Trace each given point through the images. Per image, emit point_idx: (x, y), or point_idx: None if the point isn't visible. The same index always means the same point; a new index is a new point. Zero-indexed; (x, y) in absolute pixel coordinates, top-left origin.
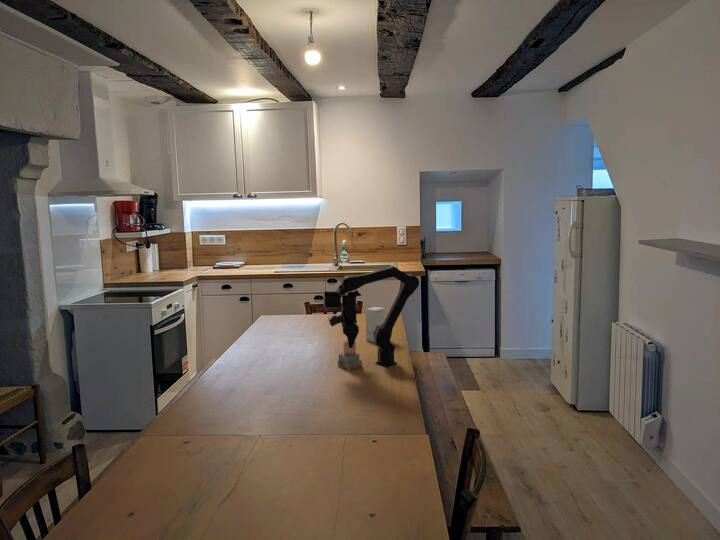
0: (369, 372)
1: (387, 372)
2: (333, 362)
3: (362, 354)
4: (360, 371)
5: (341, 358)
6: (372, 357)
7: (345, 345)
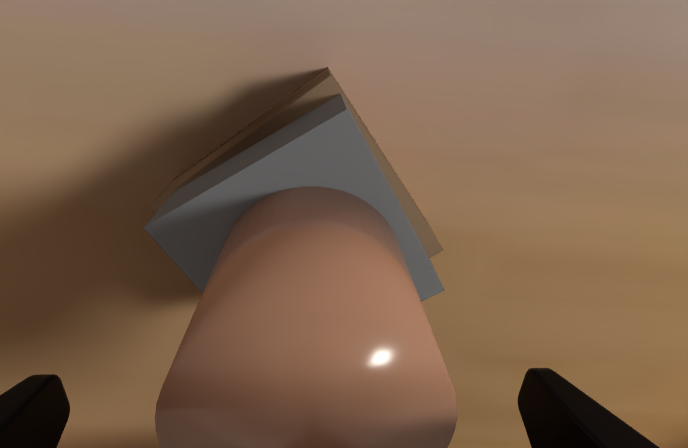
0: (108, 341)
1: (117, 444)
2: (484, 21)
3: (624, 326)
4: (132, 278)
5: (282, 134)
6: (508, 385)
7: (199, 316)
